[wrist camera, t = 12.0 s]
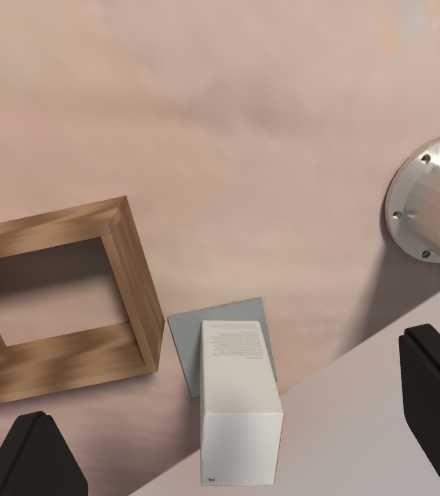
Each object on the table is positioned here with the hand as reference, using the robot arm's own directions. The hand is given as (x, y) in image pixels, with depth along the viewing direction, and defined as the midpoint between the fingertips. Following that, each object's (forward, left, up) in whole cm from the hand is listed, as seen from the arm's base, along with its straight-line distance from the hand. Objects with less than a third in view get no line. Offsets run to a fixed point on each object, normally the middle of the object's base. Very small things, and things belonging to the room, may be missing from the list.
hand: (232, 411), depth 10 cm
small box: (+2, +19, -28) cm, 34 cm away
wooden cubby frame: (+17, +7, -28) cm, 34 cm away
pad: (+2, +19, -28) cm, 34 cm away
